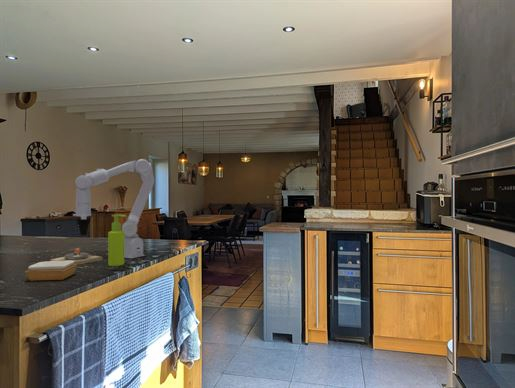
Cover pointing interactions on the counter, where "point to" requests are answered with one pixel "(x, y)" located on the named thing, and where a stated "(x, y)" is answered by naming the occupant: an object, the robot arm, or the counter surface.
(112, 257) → the soap dispenser
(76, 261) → the board
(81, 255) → the handwheel
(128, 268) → the counter surface
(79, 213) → the robot arm
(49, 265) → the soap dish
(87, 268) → the counter surface
